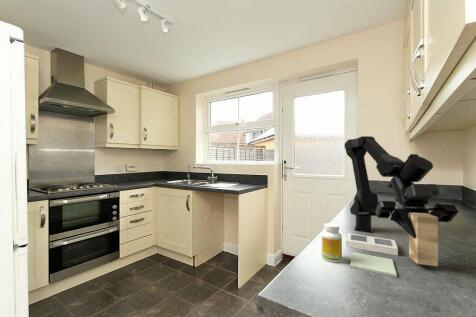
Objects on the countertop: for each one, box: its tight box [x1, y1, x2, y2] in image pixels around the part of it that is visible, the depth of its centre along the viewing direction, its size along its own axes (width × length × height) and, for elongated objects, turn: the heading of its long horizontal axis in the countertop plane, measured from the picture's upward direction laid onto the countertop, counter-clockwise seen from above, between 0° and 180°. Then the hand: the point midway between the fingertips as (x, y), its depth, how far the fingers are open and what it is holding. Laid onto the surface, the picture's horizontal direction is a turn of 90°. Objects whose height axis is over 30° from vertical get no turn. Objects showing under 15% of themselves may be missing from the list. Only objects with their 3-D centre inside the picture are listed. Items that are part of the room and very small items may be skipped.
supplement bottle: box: [321, 222, 343, 263], centre depth 64 cm, size 5×5×10 cm
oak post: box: [408, 212, 439, 267], centre depth 60 cm, size 4×4×12 cm
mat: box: [350, 251, 398, 278], centre depth 61 cm, size 10×10×1 cm
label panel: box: [345, 232, 399, 256], centre depth 74 cm, size 9×14×2 cm, turn 61°
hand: (425, 238), depth 59 cm, fingers closed on oak post, 4 cm apart
